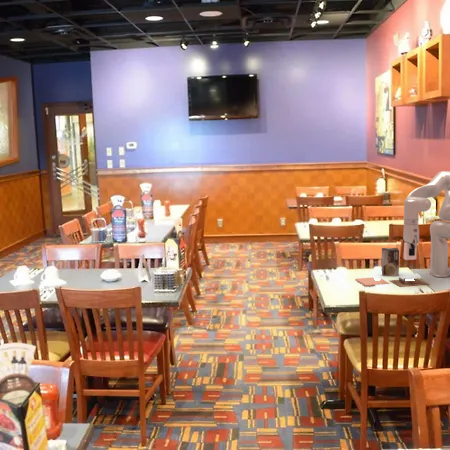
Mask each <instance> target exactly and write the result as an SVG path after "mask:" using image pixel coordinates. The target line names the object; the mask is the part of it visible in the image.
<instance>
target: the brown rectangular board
mask: <svg viewBox="0 0 450 450" xmlns="http://www.w3.org/2000/svg"><path fill="white" fill-rule="evenodd" d="M405 279H406V278H401V277H398V279H394V280H393V279H391V280H388V283H391V284H393V285H395V286H397V287H399V288H410V287H419V286H420V287H421V286H431V284H430V283H428V282H426V281H424V280H422V279H419V278H418V277H417V278H414V280H415V281H405Z"/></svg>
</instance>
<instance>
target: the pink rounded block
mask: <svg viewBox="0 0 450 450" xmlns="http://www.w3.org/2000/svg"><path fill="white" fill-rule="evenodd" d="M413 243H414V242H413ZM417 247H418V245H417V246H416V247H415V255H414V256H409V249H410V243H405V242H403V260H405V261H411V260H412V261H413V260H417V252H418V251H417V250H418V249H417Z"/></svg>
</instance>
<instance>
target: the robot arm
mask: <svg viewBox="0 0 450 450" xmlns="http://www.w3.org/2000/svg"><path fill="white" fill-rule="evenodd" d="M443 191H444V198H443V201H442V203H441V206H440V209H439V211H438V218H439V220H435V221H433V222H432V223H431V224H430V226H429V232H430V261H429V262H430V264H429V265H430V267H429V270H428V271H426V274H427V275H429V276H433V277H435V278H448V277H450V266H449V267H448V265H449V262H448V261H449V243H448V240H450V170H441V171H438V172H437V174H435V176H433V178H432V179H430V181H429V182H428V183H427V184H424V185H422V186H419V187H417V188H416V189H413V190H412V191H411V192H409V194H408V195H407V196H406V198H405V199H404V203H403V205H404V207H403V232H402V234H403V235H402V238H403V241H404V242H403V243H410V249H409V256H414V255H415V247H416V246H417V247H418V244H419V243H420V227H419V213H420V212H424V213H425V212H428V211H429V210H430V209H431V207H432V201H431V200H430V199H431V198H434V197H437V196H439V195H440V194H441V193H442V192H443ZM447 239H448V240H447ZM413 242H414V243H413Z"/></svg>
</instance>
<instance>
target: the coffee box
mask: <svg viewBox="0 0 450 450" xmlns="http://www.w3.org/2000/svg"><path fill="white" fill-rule="evenodd" d="M381 271H382V275H381V276H383V277H399V276H400V249H399V248H398V247H381Z"/></svg>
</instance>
